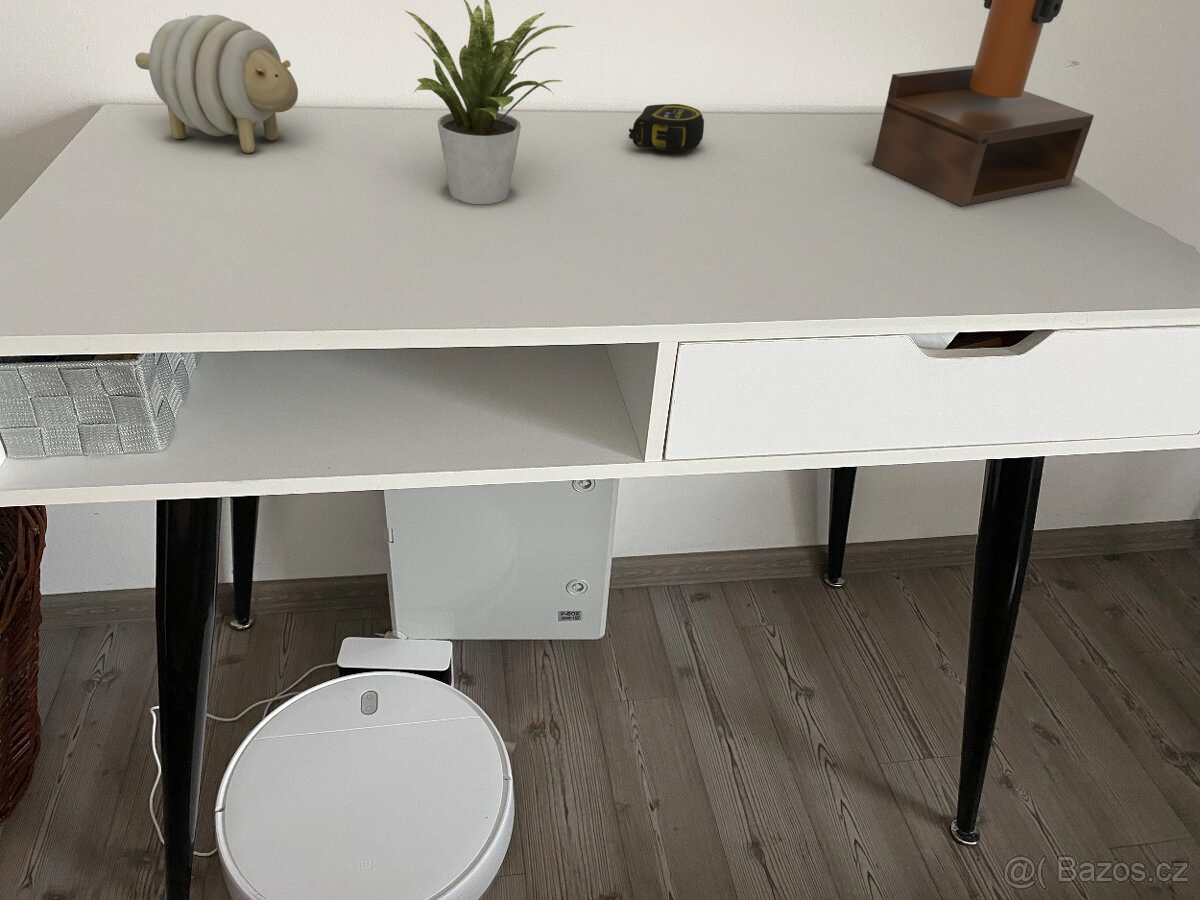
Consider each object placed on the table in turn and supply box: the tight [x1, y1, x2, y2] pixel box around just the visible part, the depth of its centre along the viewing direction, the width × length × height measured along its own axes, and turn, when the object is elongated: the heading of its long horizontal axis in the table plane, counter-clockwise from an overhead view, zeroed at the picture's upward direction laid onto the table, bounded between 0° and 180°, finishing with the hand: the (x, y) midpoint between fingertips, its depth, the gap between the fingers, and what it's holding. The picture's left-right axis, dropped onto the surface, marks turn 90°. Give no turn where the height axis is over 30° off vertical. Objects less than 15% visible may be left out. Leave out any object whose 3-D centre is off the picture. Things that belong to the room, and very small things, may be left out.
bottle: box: [969, 0, 1045, 98], centre depth 95 cm, size 5×5×12 cm
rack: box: [871, 64, 1095, 207], centre depth 100 cm, size 12×16×9 cm
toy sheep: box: [134, 14, 299, 154], centre depth 94 cm, size 11×17×11 cm, turn 75°
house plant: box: [405, 0, 576, 205], centre depth 85 cm, size 14×14×16 cm
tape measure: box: [628, 103, 705, 152], centre depth 102 cm, size 7×7×4 cm
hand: (1016, 14), depth 94 cm, fingers closed on bottle, 5 cm apart
